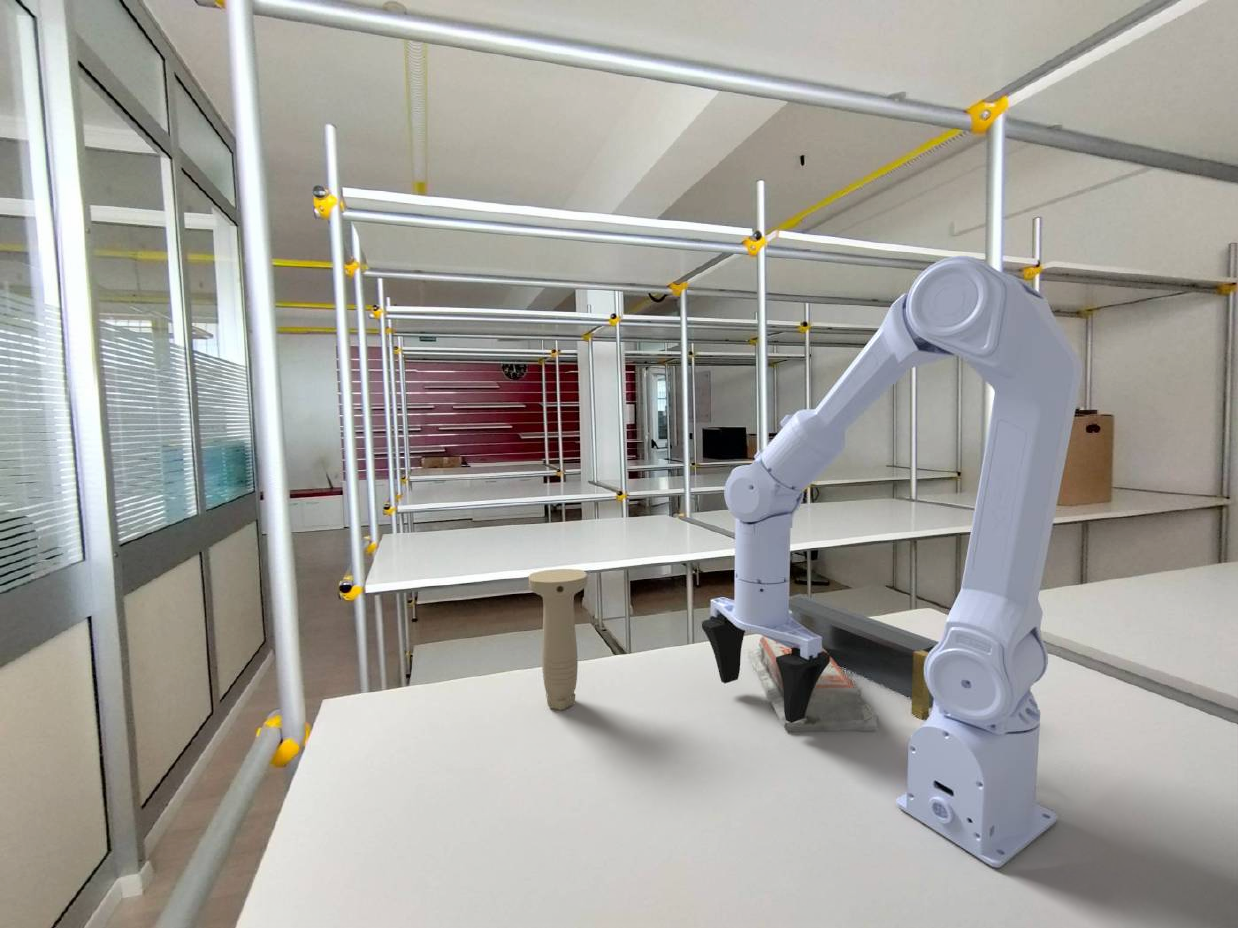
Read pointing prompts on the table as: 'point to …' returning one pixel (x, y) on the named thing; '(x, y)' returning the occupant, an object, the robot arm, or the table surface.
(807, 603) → the grey long bar
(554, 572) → the handle
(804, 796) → the table surface
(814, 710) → the packaged product
